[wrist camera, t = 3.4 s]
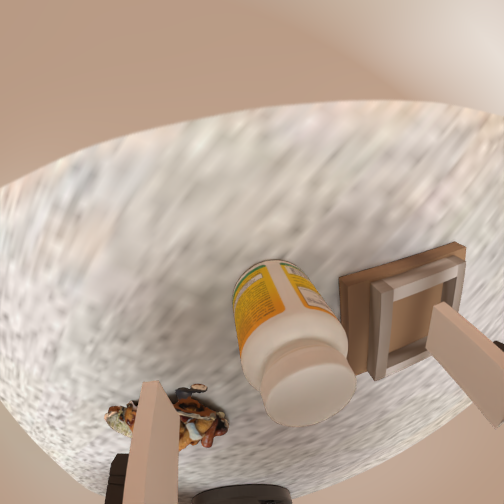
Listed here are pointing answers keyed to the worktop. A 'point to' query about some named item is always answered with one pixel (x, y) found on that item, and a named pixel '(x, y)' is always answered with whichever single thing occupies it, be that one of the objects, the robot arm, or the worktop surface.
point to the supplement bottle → (291, 345)
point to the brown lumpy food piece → (191, 419)
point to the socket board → (398, 308)
